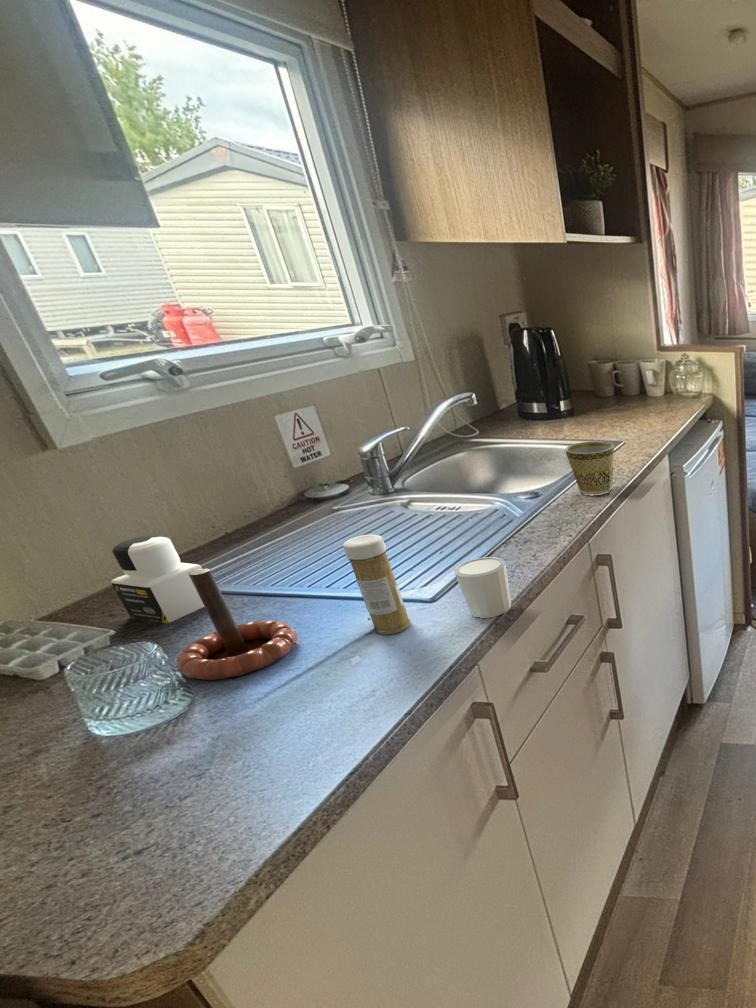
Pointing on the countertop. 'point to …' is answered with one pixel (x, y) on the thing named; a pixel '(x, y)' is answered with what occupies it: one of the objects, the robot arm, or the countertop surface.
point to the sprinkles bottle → (377, 583)
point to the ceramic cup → (592, 466)
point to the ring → (201, 668)
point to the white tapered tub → (484, 586)
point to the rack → (222, 618)
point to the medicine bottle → (155, 580)
